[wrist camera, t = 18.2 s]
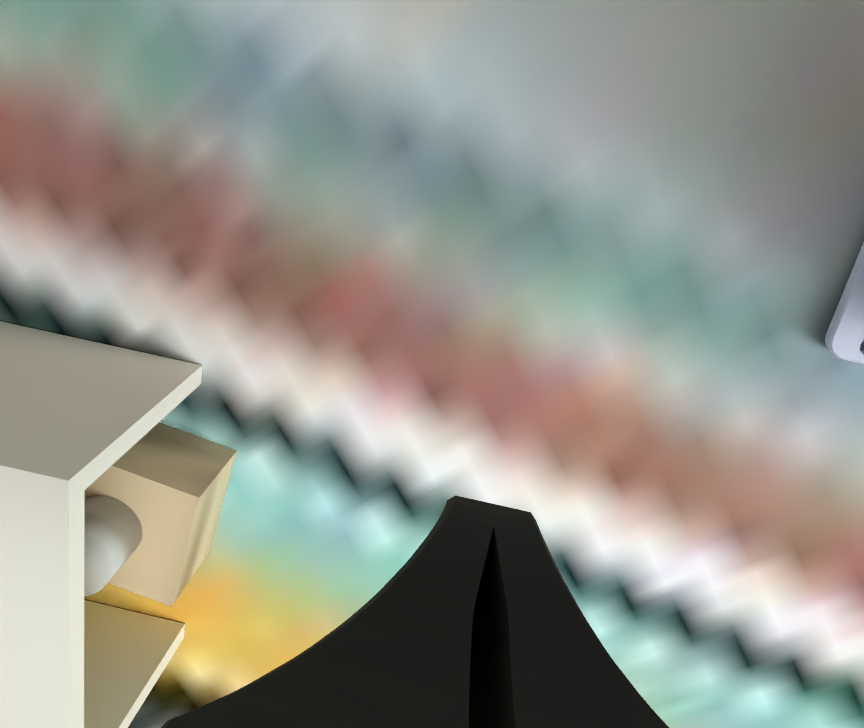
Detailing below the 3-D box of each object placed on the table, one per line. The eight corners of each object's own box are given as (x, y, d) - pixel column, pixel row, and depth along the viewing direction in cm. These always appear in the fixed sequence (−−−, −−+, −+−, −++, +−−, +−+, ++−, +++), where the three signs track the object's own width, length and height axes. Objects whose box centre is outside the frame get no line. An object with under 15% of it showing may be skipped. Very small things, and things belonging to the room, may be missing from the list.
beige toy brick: (239, 447, 23) (169, 535, 18) (212, 547, 24) (141, 650, 20) (-33, 346, 23) (-169, 411, 18) (-43, 452, 24) (-172, 535, 20)
